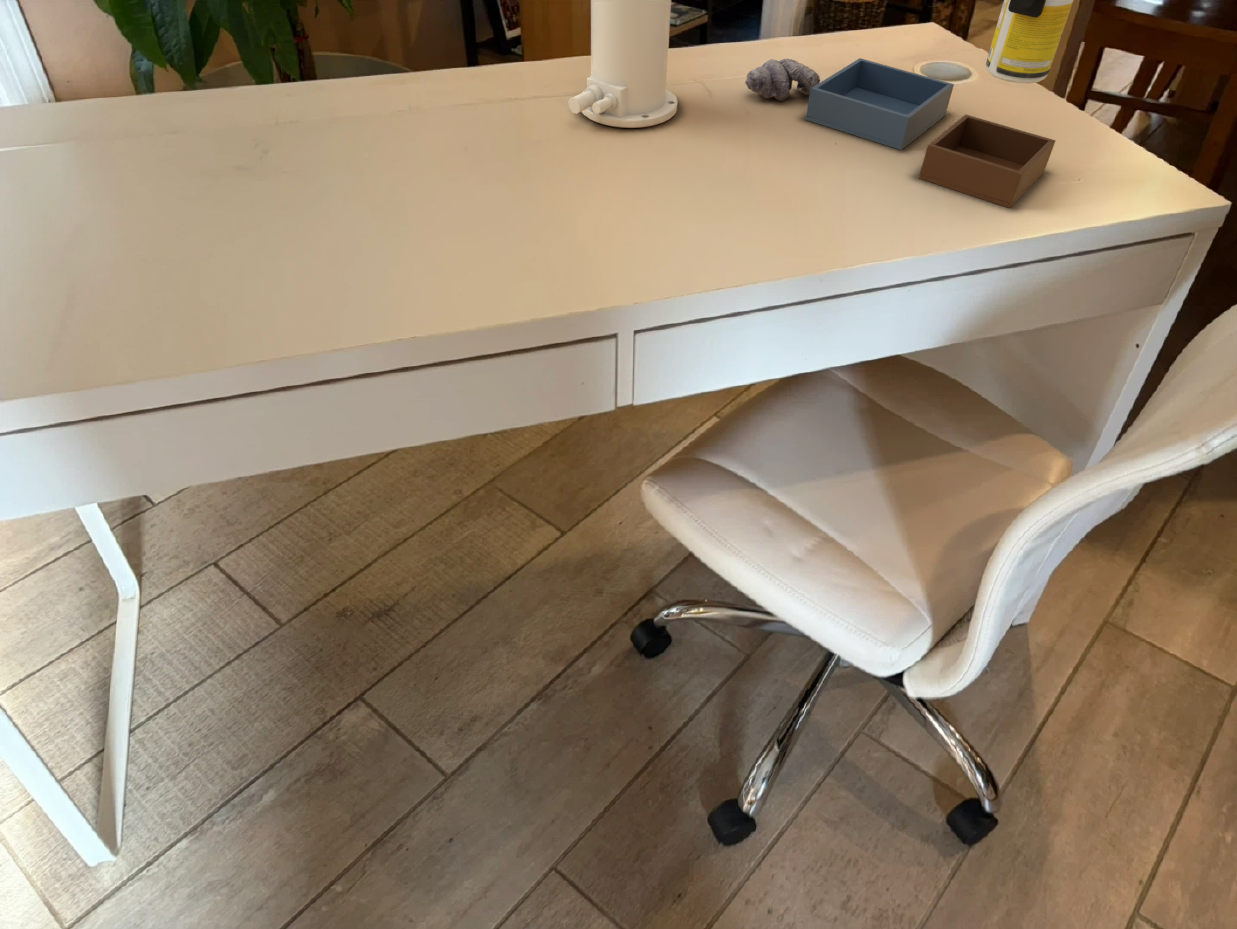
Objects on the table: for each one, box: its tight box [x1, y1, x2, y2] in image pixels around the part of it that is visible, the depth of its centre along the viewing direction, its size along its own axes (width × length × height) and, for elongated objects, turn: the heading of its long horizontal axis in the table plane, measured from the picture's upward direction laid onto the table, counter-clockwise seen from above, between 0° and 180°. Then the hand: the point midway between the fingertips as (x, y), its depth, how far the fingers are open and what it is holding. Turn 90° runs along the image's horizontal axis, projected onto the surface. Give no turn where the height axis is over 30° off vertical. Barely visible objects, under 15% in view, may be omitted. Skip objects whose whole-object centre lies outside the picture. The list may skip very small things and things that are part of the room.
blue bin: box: [805, 57, 955, 151], centre depth 114 cm, size 13×13×4 cm
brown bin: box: [918, 114, 1056, 209], centre depth 103 cm, size 11×11×4 cm
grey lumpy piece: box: [744, 58, 821, 102], centre depth 118 cm, size 5×5×10 cm
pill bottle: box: [985, 0, 1075, 85], centre depth 92 cm, size 6×6×12 cm
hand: (1037, 3), depth 92 cm, fingers closed on pill bottle, 6 cm apart
